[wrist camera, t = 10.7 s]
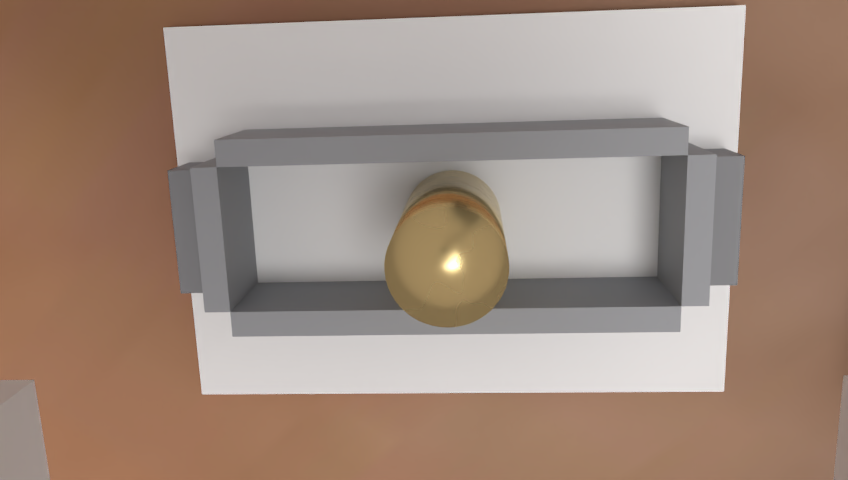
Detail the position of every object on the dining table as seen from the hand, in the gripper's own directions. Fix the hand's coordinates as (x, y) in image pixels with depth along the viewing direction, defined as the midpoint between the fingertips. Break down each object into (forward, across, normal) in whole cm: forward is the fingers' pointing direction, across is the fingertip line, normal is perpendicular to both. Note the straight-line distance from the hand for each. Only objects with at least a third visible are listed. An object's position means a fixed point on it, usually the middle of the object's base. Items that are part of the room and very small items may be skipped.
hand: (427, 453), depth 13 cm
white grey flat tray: (+22, 0, 0) cm, 22 cm away
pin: (+21, 0, 0) cm, 21 cm away
